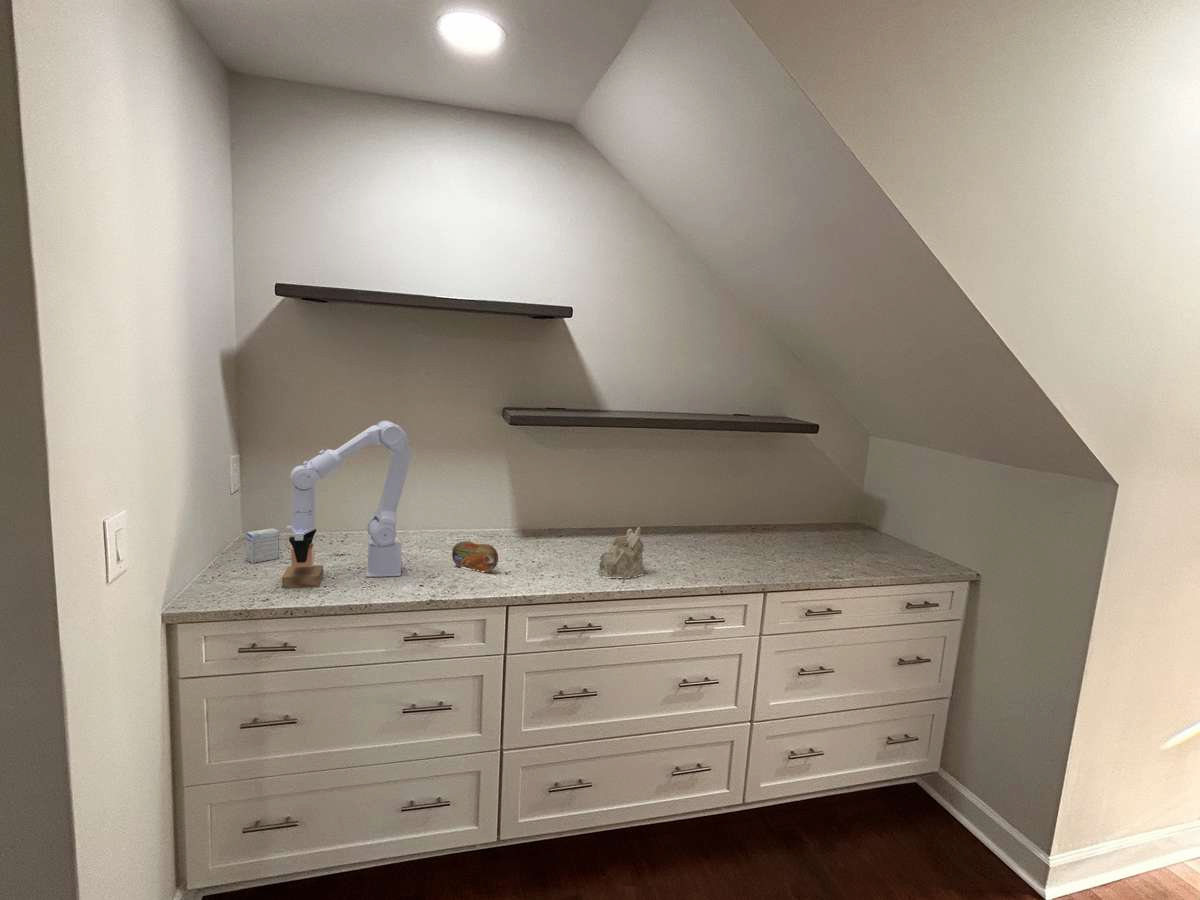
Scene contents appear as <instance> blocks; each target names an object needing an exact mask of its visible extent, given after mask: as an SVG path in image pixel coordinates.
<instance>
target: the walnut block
mask: <svg viewBox="0 0 1200 900" xmlns="http://www.w3.org/2000/svg"><path fill="white" fill-rule="evenodd" d="M323 577H324V564H320V565H319V564H318V565H314V564H313V565H312V567H291V565H289V566H287V567H286V569H285V571H284V573H283V574H282V577H281V588H282V589H292V588H293V589H295V588H296V589H297V588H313V587H314V588H315V587H316V588H317V587H318V588H319V587H320V585H321V582H322V580H323Z"/></svg>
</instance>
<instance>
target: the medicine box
mask: <svg viewBox="0 0 1200 900" xmlns="http://www.w3.org/2000/svg"><path fill="white" fill-rule="evenodd" d="M245 548H246V550H245V552H246V553H245V554H246V561H247V560H248V561H247V562H249V561H250V562H251V563H250V562H249V563H250V564H252V563H253V564H257V563H256V562H258V563H263V562H267V560H268V561H271V560H276V559H280V554H281V553H280V531H279V530H277V529H276V528H272V527H271V528H266V529H259V530H253V531H247V532H246V533H245ZM262 561H263V562H262Z"/></svg>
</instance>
